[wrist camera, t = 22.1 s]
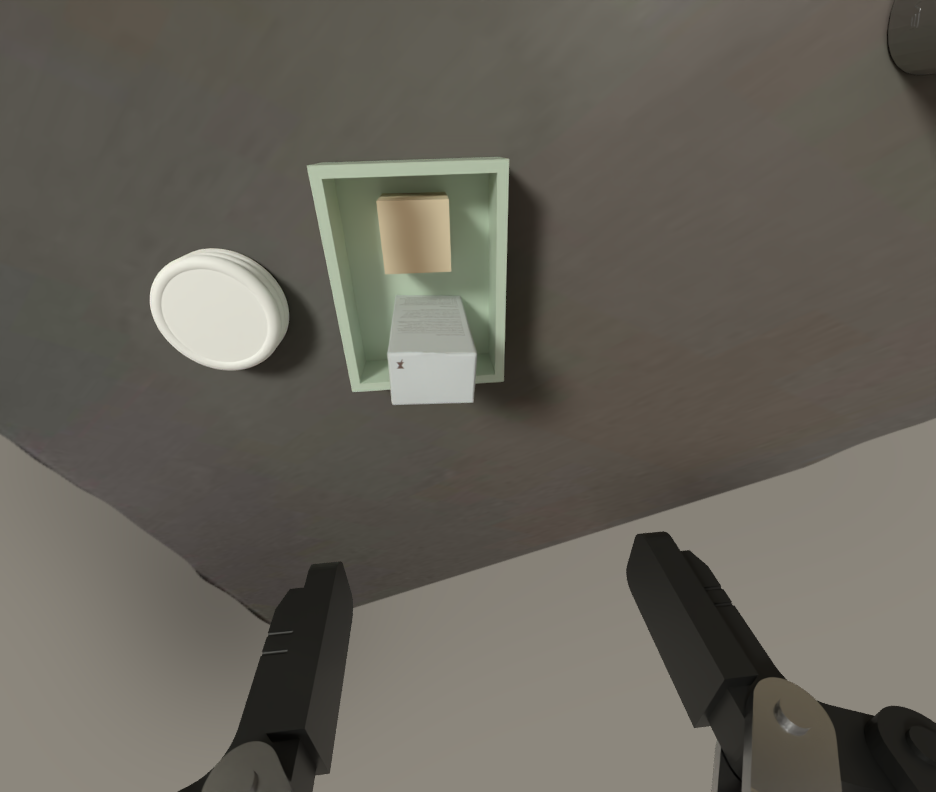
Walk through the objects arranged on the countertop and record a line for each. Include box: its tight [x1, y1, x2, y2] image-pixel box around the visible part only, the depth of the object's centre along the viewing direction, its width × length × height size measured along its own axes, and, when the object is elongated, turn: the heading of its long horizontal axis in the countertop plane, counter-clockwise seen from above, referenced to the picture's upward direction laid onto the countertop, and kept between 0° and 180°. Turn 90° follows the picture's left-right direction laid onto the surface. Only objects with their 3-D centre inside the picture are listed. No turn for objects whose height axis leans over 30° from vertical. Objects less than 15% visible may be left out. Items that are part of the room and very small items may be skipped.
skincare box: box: [387, 295, 477, 405], centre depth 33 cm, size 6×4×12 cm
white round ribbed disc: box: [150, 248, 289, 370], centre depth 35 cm, size 10×10×4 cm
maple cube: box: [376, 192, 451, 274], centre depth 32 cm, size 5×5×5 cm
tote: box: [307, 157, 509, 392], centre depth 35 cm, size 14×18×5 cm
